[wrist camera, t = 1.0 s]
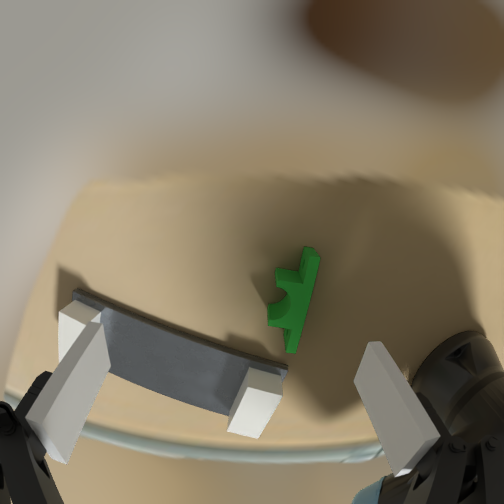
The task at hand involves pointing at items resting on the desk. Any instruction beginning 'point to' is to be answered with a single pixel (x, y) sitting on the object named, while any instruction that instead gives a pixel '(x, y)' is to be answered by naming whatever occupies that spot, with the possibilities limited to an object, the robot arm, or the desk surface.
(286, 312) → the pipe clamp
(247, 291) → the desk surface
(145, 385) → the mounting rail
